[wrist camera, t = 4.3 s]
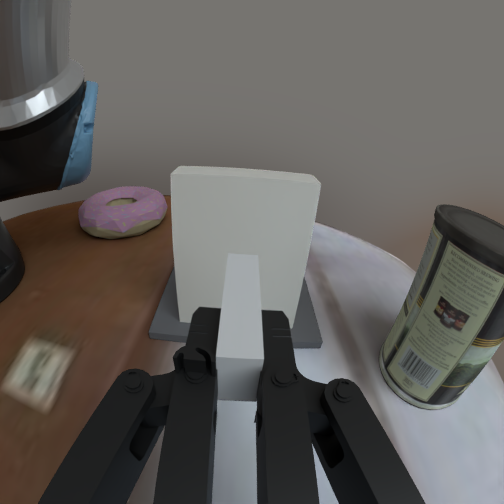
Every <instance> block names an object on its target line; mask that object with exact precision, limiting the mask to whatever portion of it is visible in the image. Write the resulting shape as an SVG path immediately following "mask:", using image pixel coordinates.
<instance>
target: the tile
mask: <svg viewBox="0 0 504 504" xmlns="http://www.w3.org/2000/svg"><path fill="white" fill-rule="evenodd" d="M320 187H321V183H320V182H319V181H318V180H317V179H316V178H315V177H314V176H313V175H308V174H300V173H290V172H280V171H269V170H257V169H256V170H255V169H242V168H224V167H203V166H201V167H200V166H179V167H178V168H177V169H176V170H175V171H173V172H172V173H171V211H172V234H173V251H174V265H175V278H176V289H177V300H178V309H179V318H180V322H186V323H191V319H192V315H193V313H194V312H195V311H196V310H197V309H198V307H211V308H221V307H222V298H223V290H224V282H225V274H226V266H227V258H228V253H232V254H247V255H258V261H259V278H260V295H261V310H277V311H283V312H284V314H285V315H286V316H287V318H288V319H289V325H290V328H293V323H294V319H295V315H296V310H297V306H298V302H299V297H300V293H301V288H302V283H303V279H304V274H305V269H306V264H307V259H308V254H309V249H310V244H311V239H312V234H313V228H314V223H315V217H316V211H317V205H318V199H319V194H320Z"/></svg>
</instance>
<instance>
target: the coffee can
mask: <svg viewBox="0 0 504 504" xmlns="http://www.w3.org/2000/svg"><path fill="white" fill-rule="evenodd" d="M434 216H435V220H434V223H433V227H432V230H431V233H430V236H429V239H428V242H427V245H426V248H425V251H424V254H423V257H422V260H421V262H420V265H419V267H418V270H417V273H416V275H415V278H414V280H413V283H412V285H411V288H410V290H409V292H408V295H407V297H406V299H405V302H404V304H403V306H402V308H401V311H400V313H399V315H398V317H397V319H396V321H395V323H394V325H393V327H392V329H391V331H390V333H389V335H388V337H387V339H386V340H385V342H384V343H383V345H382V347H381V350H380V356H379V361H380V368H381V372H382V374H383V376H384V378H385V380H386V382H387V384H388V385H389V386H390V387H391V388H392V390H393V391H394V392H395V393H396V394H397V395H398V396H400V397H401V398H402V399H403V400H405V401H407V402H408V403H410V404H412V405H414V406H417V407H419V408H425V409H435V410H436V409H442V408H446V407H448V406H450V405H452V404H454V403H455V402H456V401H457V400H458V399H459V398H460V396H461V395H462V393H463V392H464V391H465V390H466V389H467V388H468V386H469V385H470V384H471V383H472V382H473V381H474V379H475V378H476V377H477V376H478V374H479V373H480V372H481V370H482V369H483V368H484V367H485V365H486V364H487V362H488V361H489V360H490V358H491V357H492V356H493V354H494V353H495V352H496V350H497V349H498V347H499V346H500V344H501V343H502V341H503V340H504V226H503V225H501V224H500V223H498V222H496V221H494V220H492V219H490V218H488V217H486V216H484V215H481V214H479V213H476V212H474V211H471V210H468V209H465V208H462V207H458V206H453V205H445V204H444V205H438V206H437V207H436V210H435V214H434Z"/></svg>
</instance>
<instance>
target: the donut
mask: <svg viewBox="0 0 504 504" xmlns="http://www.w3.org/2000/svg"><path fill="white" fill-rule="evenodd" d="M166 210H167V204H166V201H165V198H164V196H163V195H162V194H161V193H160V192H159V191H157V190H154V189H150V188H147V187H135V186H128V187H117V188H113V189H109V190H106V191H103V192H99V193H96V194H94V195H93V196H91V197H90V198H88V199H87V200H85V201H84V203H83V204H82V205H81V207H80V208H79V221H80V226H81V227H82V229H83V230H84V231H86V232H87V233H88V234H90V235H92V236H97V237H102V238H107V239H117V238H124V237H131V236H138V235H141V234H143V233H145V232H146V231H148V230H150V229H152V228H153V227H155V226H157V225H158V224H160V222H161V221H162V219H163V218H164V217H165V214H166Z"/></svg>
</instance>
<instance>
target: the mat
mask: <svg viewBox="0 0 504 504" xmlns="http://www.w3.org/2000/svg"><path fill="white" fill-rule="evenodd" d="M189 328H190V323H186V322H180V318H179V309H178V300H177V289H176V278H175V266H174V268H173V270H172V273H171V275H170V278H169V280H168V283H167V285H166V288H165V290H164V293H163V295H162V298H161V300H160V303H159V306H158V308H157V311H156V313H155V316H154V319H153V321H152V324H151V327H150V330H149V336H150V338H152V339H159V340H168V341H176V342H186V341H187V337H188V333H189ZM290 331H291V338H292V343H293V348H321V345H322V338H321V334H320V331H319V327H318V323H317V320H316V316H315V313H314V309H313V305H312V302H311V298H310V295H309V292H308V288H307V285H306V281H305V278H304V279H303V283H302V288H301V293H300V297H299V302H298V306H297V310H296V315H295V319H294V323H293V328H290Z"/></svg>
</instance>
